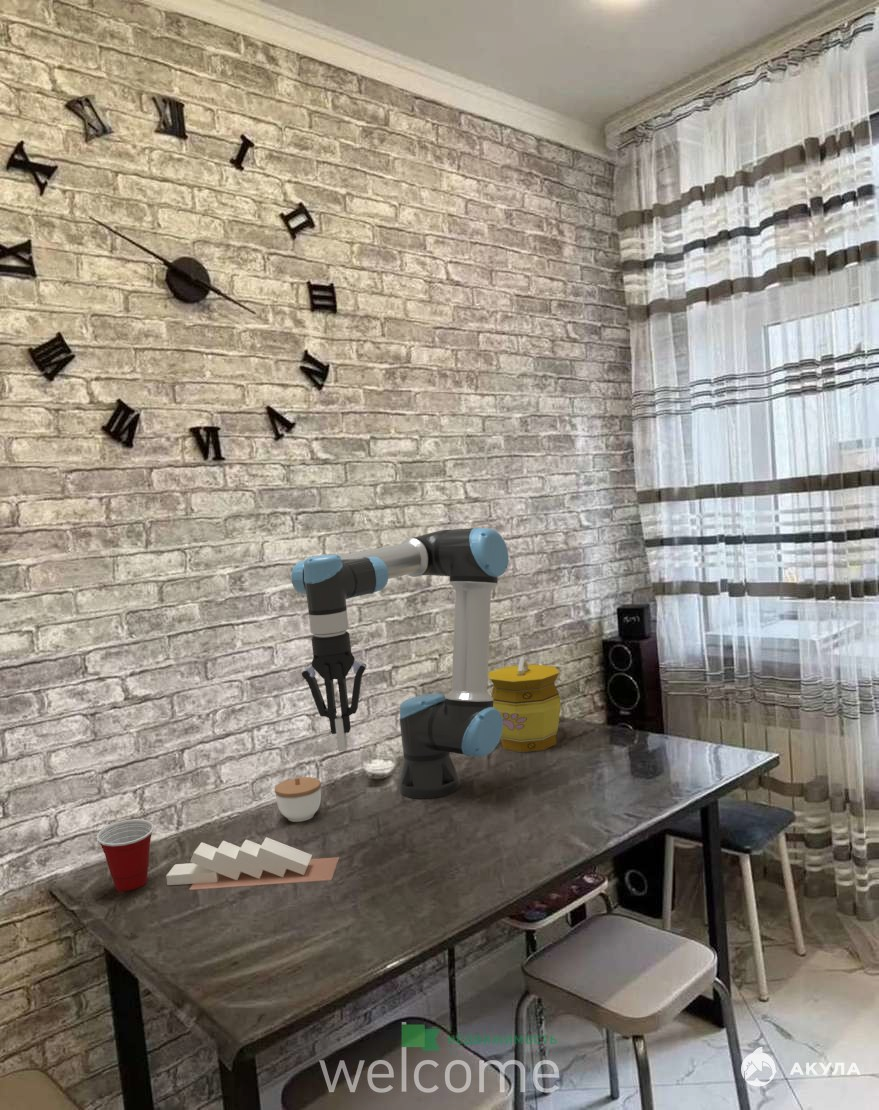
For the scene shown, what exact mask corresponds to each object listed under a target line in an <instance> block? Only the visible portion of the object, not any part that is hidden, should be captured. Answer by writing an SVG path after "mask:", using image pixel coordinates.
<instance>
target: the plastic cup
mask: <svg viewBox="0 0 879 1110" xmlns="http://www.w3.org/2000/svg"><path fill="white" fill-rule="evenodd" d="M154 829H155V825H154V824H153V822H151V821H149V820H148V819H147V820H146V819H139V818H138V819H137V818H136V819H126V820H122V821H118V822H114V823H112V824H109V825H107V826H105V827H103V828H102V829H101V830H99V831H98V833H97V834H96V840H97V842H98V844H100V847H101V849H102V851H103V853H104V857H105V859H106V863H107V867H108V869H109V872H110V876H111V878H112V881H113V884H114V888H115V890H116V892H117V891H118V892H120V893H119V894H121V893H122V892H130V891H131V892H132V891H134V890H137V889H139V888H141V887H143V886H144V885H146V884H147V882H148V873H149V871H148V870H149V866H150V865H149V864H150V863H149V862H150V849H151V848H150V846H151V840H152V839H151V838H152V834H153V831H154ZM118 892H117V893H118Z"/></svg>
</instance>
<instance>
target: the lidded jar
mask: <svg viewBox="0 0 879 1110" xmlns="http://www.w3.org/2000/svg"><path fill="white" fill-rule="evenodd" d="M321 787H322V782H321V781H320V779H319V778H316V777H313V776H312V777H309V776H308V777H307V776H306V777H305V776H303V777H302V776H301V777H299V776H298V777H295V778H290V779H286V780H283V781H282V782H279V783H278V784H277V785H275V786H274V794H275V799H276V804H277V807H278V809H279V812H280V813H281V815H283V817H285V818H286V819H287V820H288V821H289V822H293V823H301V822H304V821H308V820H310V819H313V818H314V816H315V814H316V813H317V812H318V810H319V808H320V805H321V801H322V788H321Z"/></svg>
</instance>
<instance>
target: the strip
mask: <svg viewBox="0 0 879 1110" xmlns="http://www.w3.org/2000/svg"><path fill="white" fill-rule="evenodd" d="M339 860H340V856H337V857H336V856H335V857H320V858H311V859H310V862H309V864H308V867H307V869H306V871H305V874H304V875H302V874H299V873H297V872H294V871H292V870H289V869H287V870H286V872H285V874H284V876H283V877H281V876H278V875H275V874H273V873H270V872H268V871H265V870H264V871H263V873H262V875H261V877H260V879H258V878H256V877H253V876H251V875H248V874H246V873H243V872H242V873H241V875H240V877H239V878H238V880H234V879H232V878H229V877H227V876H224V875H221V877H220V878H219V880H218V881H217V882H210V883H195V884H191V886H190V887H189V888H188V890H189V891H190V890H191V891H195V890H206V889H207V890H208V889H221V888H222V889H224V888H237V887H250V886H251V887H252V886H266V885H279V884H280V885H282V884H292V883H293V884H296V883H308V882H309V883H311V882H322V881H323V882H324V881H332V879H333V877H334V874H335V871H336V868H337V866H338V862H339Z"/></svg>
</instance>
